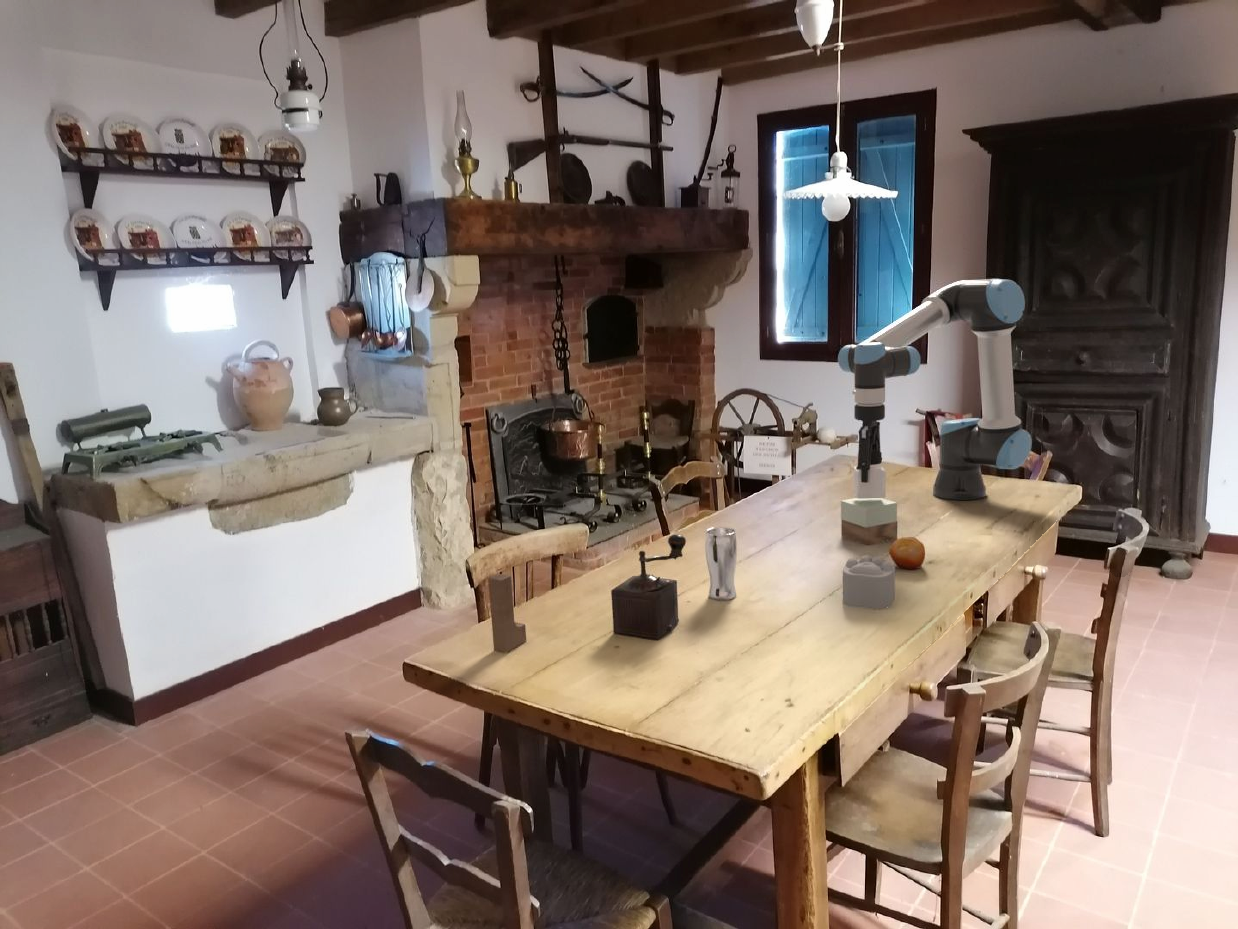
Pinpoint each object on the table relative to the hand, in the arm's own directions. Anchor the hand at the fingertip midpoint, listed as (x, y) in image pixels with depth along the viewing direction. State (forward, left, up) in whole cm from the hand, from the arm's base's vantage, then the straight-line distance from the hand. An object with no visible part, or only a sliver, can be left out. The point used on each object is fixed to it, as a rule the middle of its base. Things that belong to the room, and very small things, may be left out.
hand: (869, 489), depth 239 cm
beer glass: (+56, +13, -13) cm, 59 cm away
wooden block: (+106, +11, -13) cm, 107 cm away
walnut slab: (0, 0, -13) cm, 13 cm away
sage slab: (0, 0, -8) cm, 8 cm away
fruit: (+10, +23, -13) cm, 28 cm away
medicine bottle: (0, 0, -2) cm, 2 cm away
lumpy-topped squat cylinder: (+31, +33, -13) cm, 47 cm away
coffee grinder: (+77, +18, -13) cm, 80 cm away
